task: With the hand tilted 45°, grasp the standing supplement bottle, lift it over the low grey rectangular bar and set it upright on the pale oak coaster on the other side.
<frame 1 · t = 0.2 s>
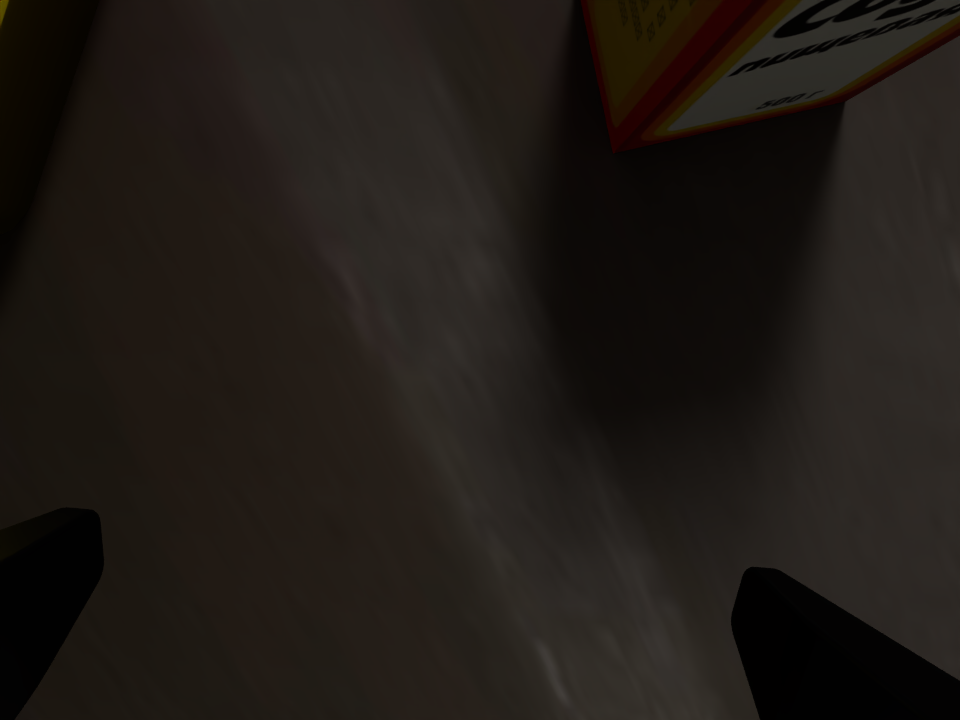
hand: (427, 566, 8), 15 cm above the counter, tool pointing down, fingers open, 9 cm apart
baking soda box: (710, 46, 24), on the counter
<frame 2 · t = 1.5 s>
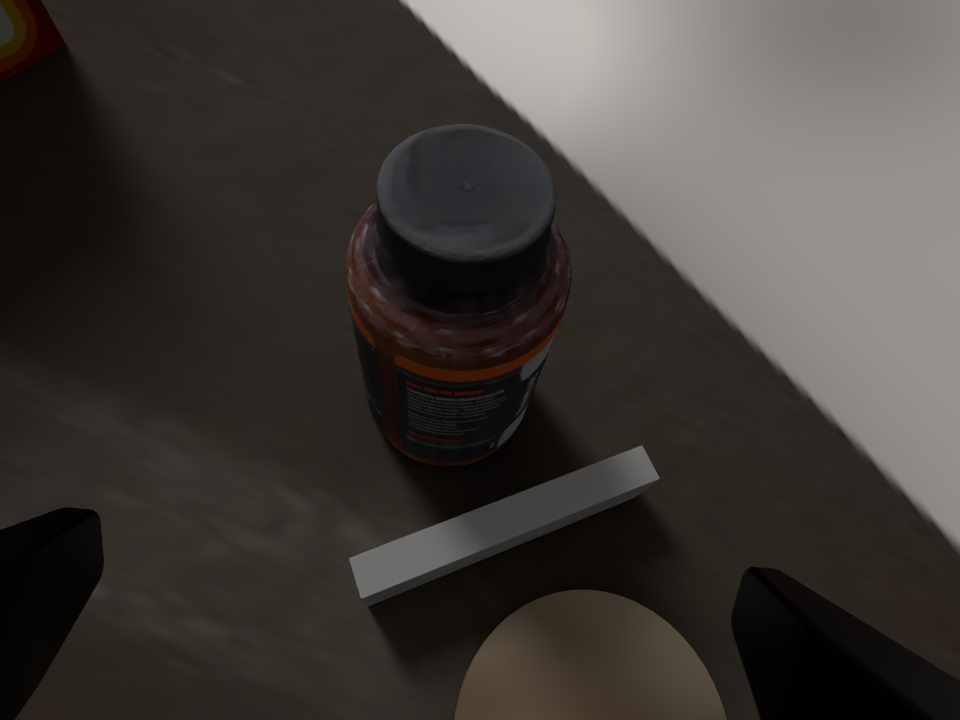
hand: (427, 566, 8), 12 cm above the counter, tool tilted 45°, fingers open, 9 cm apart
supplement bottle: (447, 397, 23), on the counter
grey rectangular bar: (502, 532, 21), on the counter
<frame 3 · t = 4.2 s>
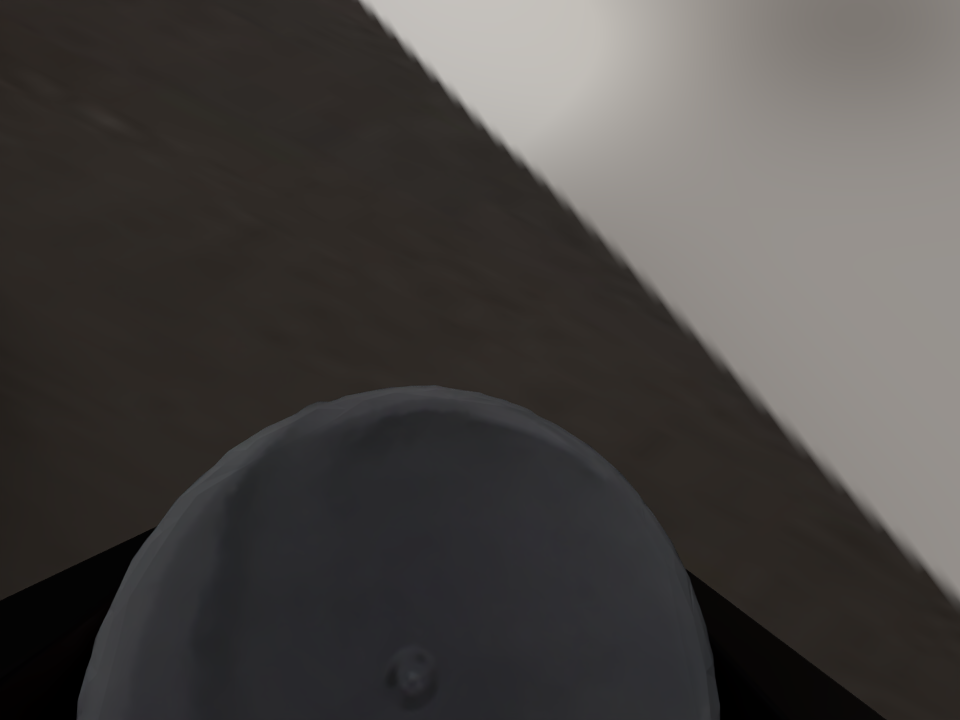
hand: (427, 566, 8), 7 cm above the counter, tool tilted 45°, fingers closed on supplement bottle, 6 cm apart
supplement bottle: (418, 675, 14), on the counter, touching gripper
when the fingers open (8 cm above the counter, at t = 8.0 s): supplement bottle drops 1 cm, resting on oak coaster.
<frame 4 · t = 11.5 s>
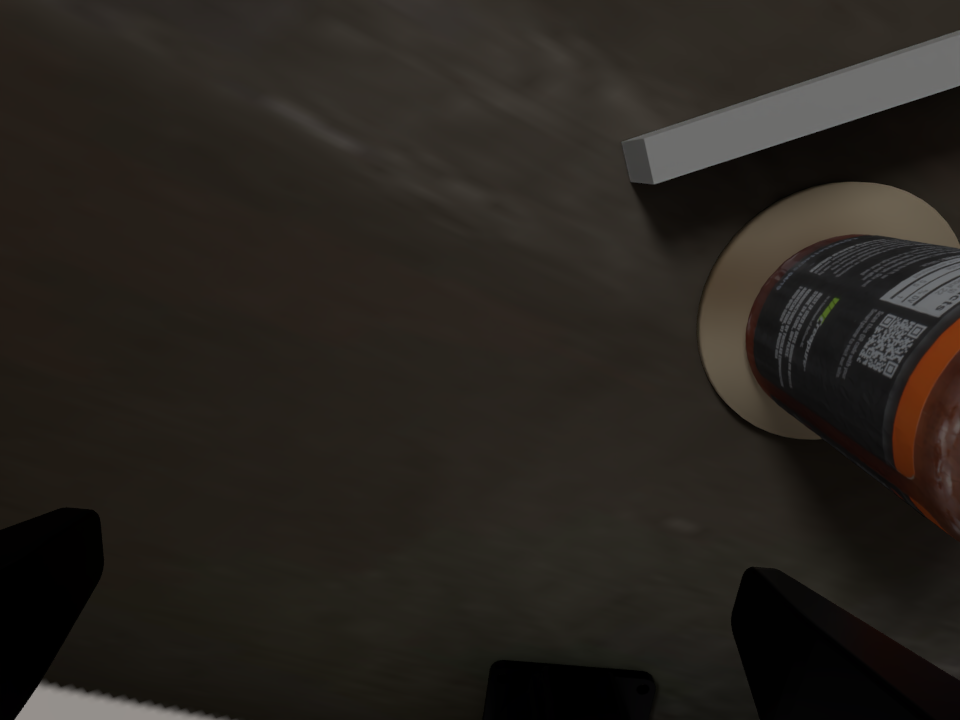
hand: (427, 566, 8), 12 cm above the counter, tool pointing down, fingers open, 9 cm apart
supplement bottle: (827, 322, 20), resting on oak coaster
grey rectangular bar: (790, 108, 18), on the counter
oak coaster: (825, 315, 20), on the counter
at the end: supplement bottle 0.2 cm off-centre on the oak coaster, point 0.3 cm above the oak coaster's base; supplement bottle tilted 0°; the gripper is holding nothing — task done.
